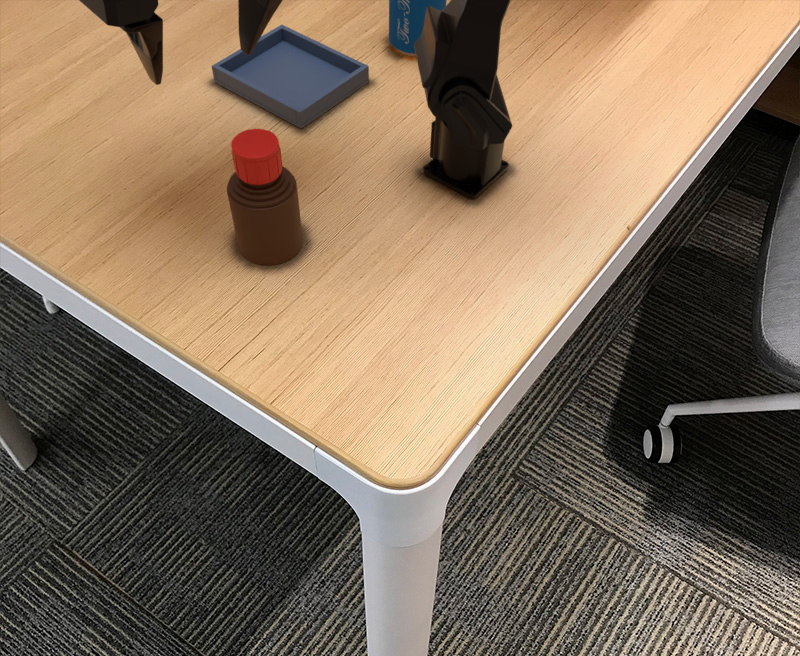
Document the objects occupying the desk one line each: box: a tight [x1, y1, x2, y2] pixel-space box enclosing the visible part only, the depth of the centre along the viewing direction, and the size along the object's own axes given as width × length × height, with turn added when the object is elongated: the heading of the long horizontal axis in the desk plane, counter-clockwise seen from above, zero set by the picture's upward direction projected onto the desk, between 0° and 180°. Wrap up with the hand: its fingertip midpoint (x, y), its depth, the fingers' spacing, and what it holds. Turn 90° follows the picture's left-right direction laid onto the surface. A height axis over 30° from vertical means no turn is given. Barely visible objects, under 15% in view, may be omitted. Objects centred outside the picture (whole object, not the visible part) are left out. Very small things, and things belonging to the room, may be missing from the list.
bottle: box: [226, 166, 304, 266], centre depth 67 cm, size 6×6×10 cm
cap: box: [230, 128, 284, 185], centre depth 64 cm, size 4×4×3 cm
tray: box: [211, 24, 370, 130], centre depth 85 cm, size 13×11×2 cm
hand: (202, 66), depth 66 cm, fingers open, 9 cm apart
